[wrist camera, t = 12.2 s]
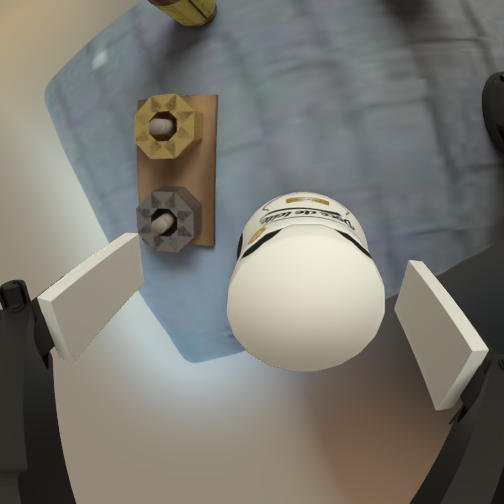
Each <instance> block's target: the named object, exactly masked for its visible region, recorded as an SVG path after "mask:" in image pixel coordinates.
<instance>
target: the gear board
mask: <svg viewBox="0 0 504 504" xmlns="http://www.w3.org/2000/svg"><path fill="white" fill-rule="evenodd" d="M186 97H188V98H189V99H190V100H191V101H192V102H193V103H194V104H195V105H196V106H197V107H198V108H199V109H200V110H201V111H202V112H203V113H204V124H203V139H202V140H201V141H200V142H199V143H198V144H197V145H196V146H195V147H194V148H193V149H192V150H191V151H190V152H189V153H188V154H187V155H186V156H183V157H179V158H168V159H150V158H149V157H148V156H147V155H146V154H145V152H144V151H143V150H142V149H141V148H140V147H139V146H138V145H137V161H138V190H139V205H140V204H141V203H142V201H143V200H144V199H145V198H146V197H147V196H148V194H149V193H150V192H151V191H153V190H155V189H158V188H160V187H162V186H178V187H186V188H187V189H188V190H189V191H190V192H191V193H192V194H193V195H194V196H195V198H196V199H197V200H198V201H199V202H200V203H201V204H202V229H201V230H200V231H199V232H198V233H197V234H196V235H195V237H194V238H193V239H191V240H190V241H189V242H188V243H187V244H192V245H204V246H214V245H215V182H216V137H217V109H218V95H216V94H215V95H191V96H186ZM147 100H148V99H146V100H138V111H139V110H140V108H141V107H142V106H143V105H144V104H145V103H146V101H147ZM148 128H149V131H150V133H152V134H163V135H164V136H165V137H166V138H167V139H168V140H170V139H171V138H172V136H173V135H174V134H175V133H176V132H177V119H176V118H175V117H174V116H173V115H172V114H171V113H169V114H168V115H167V116H166V118H165V119H153V120H152V121H151V122H150V123H149V126H148ZM162 211H163V215H162V216H160V217H159V218H157V219H156V220H154V221H153V222H152V224H151V228H152V230H153V232H154V233H156V234H162V233H163V232H165V231H166V230H167V229H168V228H170V227H174V228H178V225H177V217H176V216H175V215H174V214H173V213H172V212H171V210H170V209H162ZM142 240H144V239H143V238H142Z"/></svg>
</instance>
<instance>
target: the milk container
mask: <svg viewBox="0 0 504 504" xmlns="http://www.w3.org/2000/svg"><path fill="white" fill-rule="evenodd" d="M384 301H385V295H384V285H383V282H382V278H381V276H380V274H379V272H378V270H377V267H376V265H375V263H374V261H373V259H372V257H371V255H370V253H369V251H368V245H367V241H366V238H365V235H364V232H363V230H362V228H361V226H360V224H359V222H358V221H357V219H356V218H355V217H354V216H353V214H352V213H351V212H350V211H349V210H348V209H347V208H346V207H344V206H343V205H342V204H340V203H339V202H337V201H336V200H334V199H332V198H330V197H327V196H324V195H321V194H317V193H312V192H294V193H289V194H285V195H282V196H279V197H277V198H274V199H272V200H271V201H269V202H267V203H266V204H264V205H263V206H262V207H261V208H259V209H258V210H257V211H256V212H255V213H254V214H253V216H252V217H251V218H250V220H249V221H248V222H247V224H246V226H245V228H244V230H243V232H242V234H241V237H240V241H239V245H238V251H237V263H236V266H235V268H234V272H233V274H232V276H231V279H230V283H229V291H228V302H227V316H228V319H229V322H230V325H231V328H232V331H233V334H234V336H235V337H236V339H237V340H238V341H239V342H240V343H241V345H242V346H243V347H244V348H245V349H246V351H247V352H248V353H250V354H251V355H253V356H255V357H256V358H258V359H259V360H261V361H262V362H264V363H266V364H267V365H270V366H273V367H277V368H281V369H285V370H288V371H319V370H323V369H326V368H330V367H334V366H337V365H340V364H342V363H343V362H345V361H347V360H349V359H350V358H352V357H354V356H355V355H357V354H358V353H360V352H361V351H362V350H363V349H364V348H365V346H366V345H367V344H368V343H369V342H370V341H371V340H372V339H373V338H374V336H375V335H376V333H377V330H378V328H379V326H380V324H381V321H382V319H383V316H384V308H385V306H384V304H385V303H384Z"/></svg>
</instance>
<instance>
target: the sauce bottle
mask: <svg viewBox="0 0 504 504" xmlns="http://www.w3.org/2000/svg"><path fill="white" fill-rule="evenodd" d="M148 1H149V2H150V3H151V4H153V5H154V6H156V7H157V8H159V9H160V10H162V11H163V12H165V13H166V14H168V15H169V16H170V17H172V18H173V19H175V20H176V21H177V22H179V23H180V24H182V25H186V26H189V27H198V26H201V25H203V24H205V23H207V22H209V21H210V20H211V19H212V18H213V17H214V15H215V12H216V9H217V6H216V3H215V1H214V0H148Z"/></svg>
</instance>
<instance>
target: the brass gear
mask: <svg viewBox="0 0 504 504" xmlns="http://www.w3.org/2000/svg"><path fill="white" fill-rule="evenodd" d="M169 113H171V114H172V115H173V116H174V117H175V118H176V119H177V132H176V133H175V134H174V135H173V136H172V138H171V139H170V140H168V139H167V138H166V137H165V136H164V135H163V134H152V133H150V131H149V128H148V126H149V123H150V122H151V121H152V120H153V119H165V118H166V116H167V115H168V114H169ZM203 124H204V113H203V112H202V111H201V110H200V109H199V108H198V107H197V106H196V105H195V104H194V103H193V102H192V101H191V100H190V99H189V98H188V97H186V96H183V95H180V94H177V93H174V94H164V95H154V96H151V97H150V98H149V99H148V100H147V101H146V103H145V104H144V105H143V106H142V107H141V108H140V110H139V111H138V112H137V113H136V114H135V116H134V142H135V143H136V144H137V145H138V146H139V147H140V148H141V149H142V150H143V151H144V152H145V154H146V155H147V156H148V157H149V158H150V159H168V158H179V157H183V156H186V155H187V154H188V153H189V152H190V151H191V150H192V149H193V148H194V147H195V146H196V145H197V144H198V143H199V142H200V141H201V140H202V139H203Z"/></svg>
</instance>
